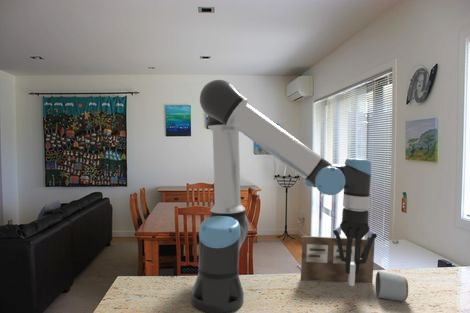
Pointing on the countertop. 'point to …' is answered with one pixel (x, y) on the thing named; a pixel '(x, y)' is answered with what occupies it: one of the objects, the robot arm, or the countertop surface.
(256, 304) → the countertop surface
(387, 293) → the ceramic mug
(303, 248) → the wooden board
